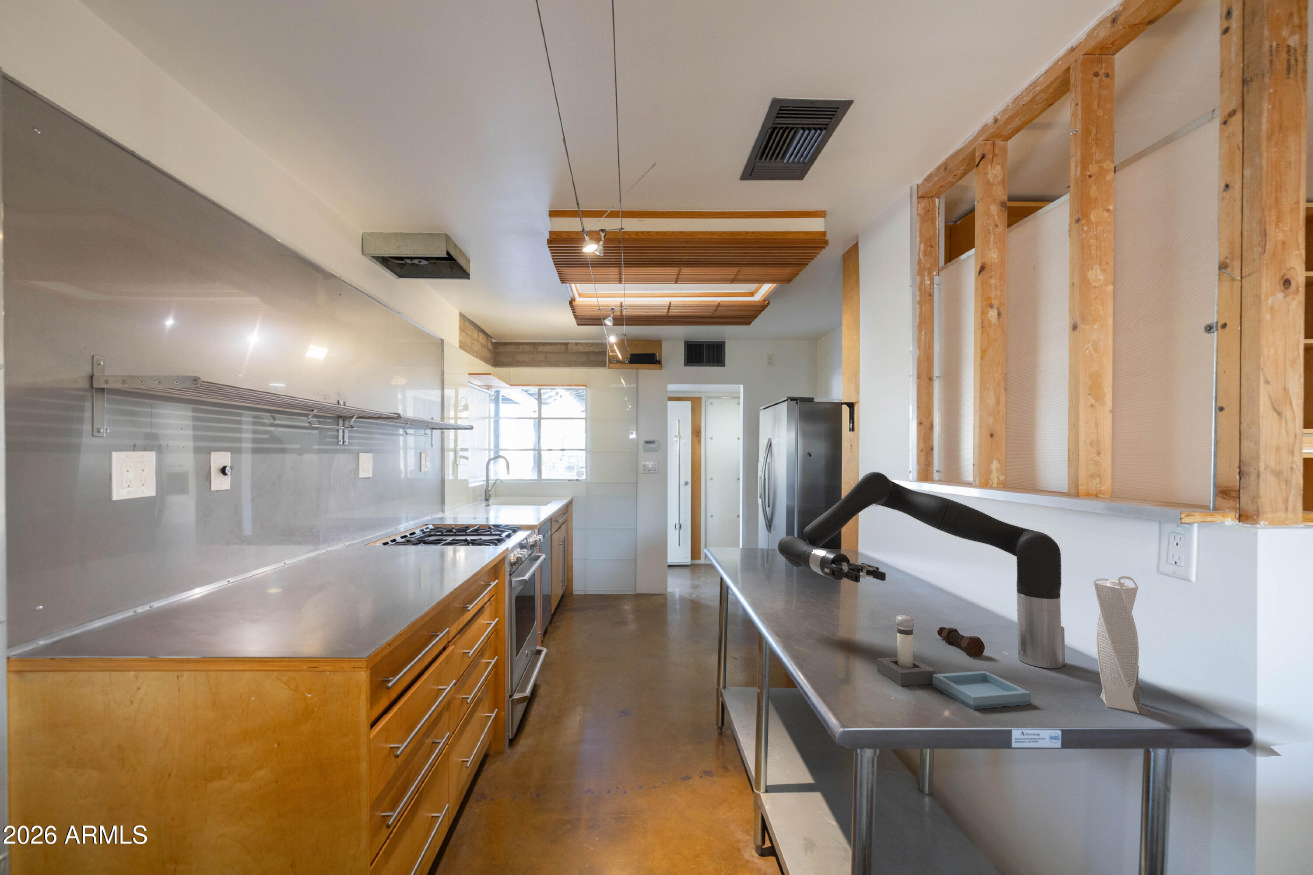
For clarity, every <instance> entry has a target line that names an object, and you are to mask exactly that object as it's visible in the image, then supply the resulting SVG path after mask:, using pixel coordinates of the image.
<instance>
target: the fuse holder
mask: <svg viewBox="0 0 1313 875" xmlns="http://www.w3.org/2000/svg"><path fill="white" fill-rule="evenodd" d="M876 670H877V672H878V673H879V674H881V675H883V676H884V677H886V678H887V679H889V680H891V681H892V682H893V683H896V684H897V685H898V686H900V687H906V686H921V685H933V675H934V674H936V669H934V668H933V667H931V666H928V665H926V664H924V663H923V662H921V661H920V660H918V659H916V658H914V657H913V668H908V669H902V668H900V667H899V666H898V658H897V656H896V657H895V656H894V657H893V656H892V657H880V658H879V657H878V658H876Z"/></svg>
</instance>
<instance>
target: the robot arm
mask: <svg viewBox="0 0 1313 875" xmlns="http://www.w3.org/2000/svg"><path fill="white" fill-rule="evenodd" d="M873 505H877V506H881V507H883V508H887V509H890V510H894V511H897V512H901V513H903V514H905V515H908V516H910V517H912V518H913V519H915V520H917V521H919V522H921V523H923V524H925V525H927V526H930V527H932V528H934V529H937V530H939V531H940V532H944V533H946V534H949V535H951V536H954V537H956V538H961V539H964V540H968V541H972V542H976V543H981V544H985V545H989V546H992V547H995V548H996V549H1000V551H1004V552H1006V553H1007V554H1010V555H1012V556H1014V557H1016V607H1017V608H1016V613H1017V614H1016V616H1017V620H1016V621H1017V658H1018V660H1019V661H1021V662H1023V663H1024V664H1027V665H1030V666H1034V667H1039V668H1045V669H1060V668H1062V666H1066V644H1065V642H1066V641H1065V637H1066V636H1065V628H1064V626H1062V617H1061V616H1062V612H1061V611H1062V610H1061V590H1062V588H1061V587H1062V554H1061V548H1060V546H1059V544H1058V543H1057V542H1056V541H1055V540H1054V538H1052V536H1050V535H1048V534H1046V533H1045V532H1040V531H1037V530H1033V529H1029V528H1026V527H1021V526H1018V525H1014V524H1011V523H1008V522H1005V521H1002V520H999V519H997V518H995V517H993V516H991V515H990V514H987V513H984V512H983V511H980V510H978V509H976V508H974V507H971V506H969V505H966V504H964V503H961V502H958V501H955V500H953V499H949V498H946V497H944V496H941V495H936V494H932V493H928V492H927V493H926V492H920V491H917V490H913V489H910V488H908V487H906V486H903V485H901V484H899V483H896V482H894V481H893V480H892V479H889V478H888V477H887V476H886V475H885V474H884V473H882V472H879V471H871V472H868V473H866V474H864V475H863V476H862V477H861V479H860V480H858V482H857V483H856V484H855V485H854V486H853V487H852V488H851V490H850V491H848V493H846V495H844V497H842V498H841V499H840V500H839V501H838V502H837V503H835V504H834V505H833V506H832V507H831V508H829V509H828V510H826V511H824V512H823V514H821V515H819V516H818V517H817V518H816V519H814V520H813V521H812V522H811V523H809V524H808V525H807V526H806V527H805V528H803V535H804V536H805V539H806V541H805V540H803V539H802V538H799V537H797V536H795V535H786V536H783V537H782V538H781V539H780V540H779V541H778V543H777V550H778V553H779V554H780V555H781V556H782V557H783V558H784V559H785V560H786V561H787V562H788V563H789V564H790V565H792V566H793V567H795V568H801V567H804V568H806V569H808V570H810V571H814V572H815V573H817V574H819V575H821V576H823V577H827V578H829V579H832V580H834V581H835V580H836V581H843V580H844V581H851V582H853V583H854V582H855V583H861V579H865V578H872V579H875V580H878V581H881V582H885V581H886V580H887V579H886V578H887V574H886V572H885V571H881V570H880V567H878V566H876V565H875V566H874V565H871V564H868V563H865V562H860V563H857V562H855V561H851V560H850V558H849V557H848V556H847V555H846V554H844V553H841V552H839V551H835V550H832V549H828V548H823V547H822V545H824V544H825V543H826V542H828V541H829V540H830V539H831V538H833V537H834V536H836V534H838V533H839V532H840V531H841V530H842V529H843V528H844V527H845V526H846V525H847V524H848V523H849V522H851V520H852V519H853V518H854V517H856V516H857V515H858V514H859V513H861V512H862V511H864V510H865V509H867V508H869V507H871V506H873Z"/></svg>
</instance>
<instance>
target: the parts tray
mask: <svg viewBox="0 0 1313 875" xmlns="http://www.w3.org/2000/svg"><path fill="white" fill-rule="evenodd" d="M932 686H933V687H934V688H936V689H938V690H940V691H941V692H943V693H944V692H945V693H944V694H946V695H948V696H949V697H951V698H953V699H955V700H957V701H958V702H959V703H962V704H963V705H965V706H967V707H969V708H970V709H972V710H983V708H986V709H992V708H991V707H997V708H1003V707H1002V706H1009V707H1016V705H1020V706H1027V705H1026V704H1031V692H1030V691H1028V690H1026V689H1024V688H1022V687H1019V685H1015V684H1014V683H1012V682H1009V681H1007V680H1006V679H1003V678H1001V677H999V676H997V675H995V674H992V673H990V672H988V671H986V670H978V671H977V670H976V671H966V672H965V671H963V672H952V673H950V672H949V673H937V674H936V673H935V674H934V675H933V684H932Z"/></svg>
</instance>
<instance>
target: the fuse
mask: <svg viewBox="0 0 1313 875" xmlns="http://www.w3.org/2000/svg"><path fill="white" fill-rule="evenodd" d="M914 620H915V618H914V617H913V616H910V615H903V614H898V615H896V616H895V624H896V633H897V635H896V640H897V644H896V645H897V646H896V647H897V648H896V650H897V656H896V657H897V658H898V666H899V667H900V668H902V669H908V668H913V658H914V628H915V625H914V624H915V621H914Z"/></svg>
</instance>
